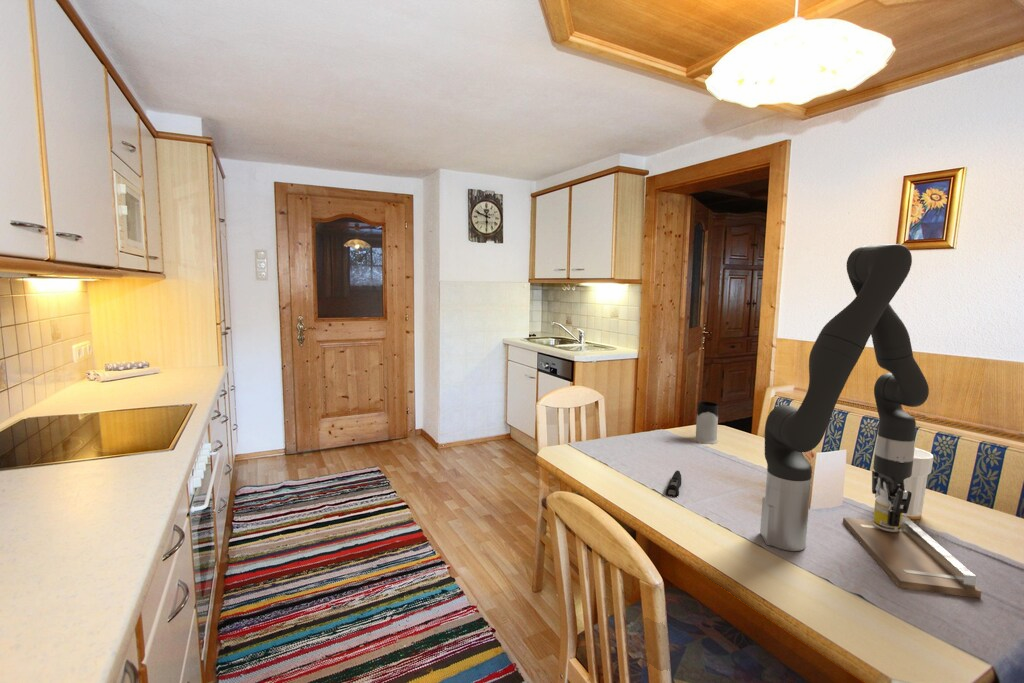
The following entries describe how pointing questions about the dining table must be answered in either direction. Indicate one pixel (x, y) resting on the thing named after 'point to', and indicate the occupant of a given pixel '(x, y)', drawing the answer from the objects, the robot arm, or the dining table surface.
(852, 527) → the brown flat wooden board
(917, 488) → the cup
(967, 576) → the metal straightedge
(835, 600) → the dining table surface
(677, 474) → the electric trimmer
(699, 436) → the glass holder
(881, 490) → the supplement bottle
